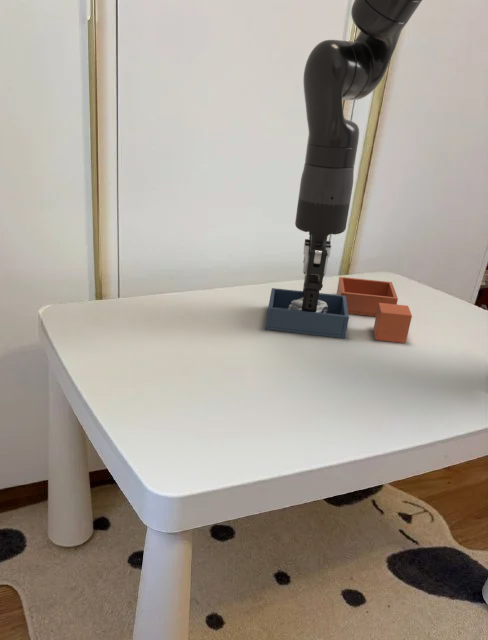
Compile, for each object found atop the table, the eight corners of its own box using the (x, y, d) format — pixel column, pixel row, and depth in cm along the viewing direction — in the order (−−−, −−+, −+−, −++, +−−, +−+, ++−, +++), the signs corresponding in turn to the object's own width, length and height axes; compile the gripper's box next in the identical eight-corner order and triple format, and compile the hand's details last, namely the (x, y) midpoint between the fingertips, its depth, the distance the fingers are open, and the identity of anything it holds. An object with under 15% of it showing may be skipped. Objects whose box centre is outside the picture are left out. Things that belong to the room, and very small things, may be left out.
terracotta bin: (388, 300, 114) (392, 281, 112) (393, 318, 106) (398, 298, 104) (336, 295, 115) (339, 276, 113) (337, 312, 107) (341, 292, 105)
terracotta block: (402, 332, 100) (408, 305, 98) (405, 343, 96) (412, 315, 94) (373, 329, 101) (378, 302, 99) (375, 340, 97) (381, 312, 95)
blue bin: (342, 315, 106) (345, 295, 104) (345, 338, 97) (348, 317, 95) (269, 307, 107) (271, 287, 106) (265, 329, 98) (268, 308, 97)
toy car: (331, 313, 103) (334, 295, 102) (301, 324, 98) (304, 305, 97) (313, 306, 105) (315, 289, 104) (282, 317, 100) (285, 299, 99)
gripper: (353, 208, 86) (333, 323, 94) (348, 190, 98) (331, 293, 106) (297, 204, 87) (283, 317, 95) (299, 186, 99) (286, 288, 107)
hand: (308, 304), depth 101 cm, fingers closed on toy car, 6 cm apart
